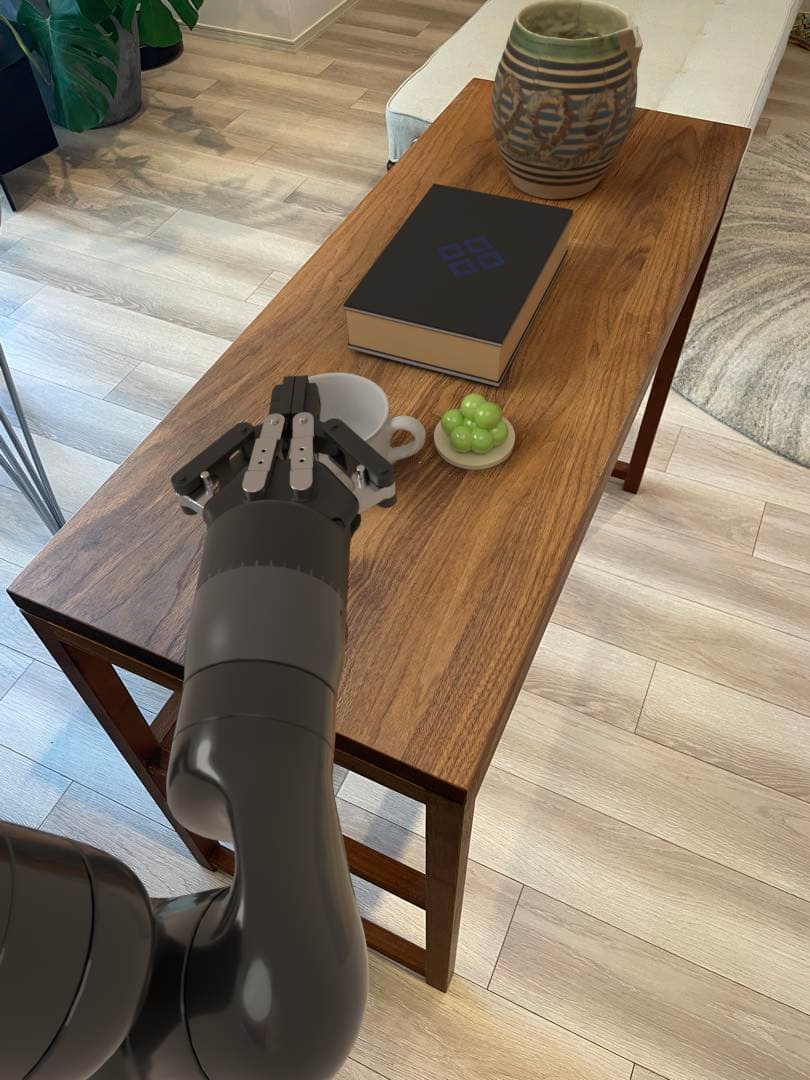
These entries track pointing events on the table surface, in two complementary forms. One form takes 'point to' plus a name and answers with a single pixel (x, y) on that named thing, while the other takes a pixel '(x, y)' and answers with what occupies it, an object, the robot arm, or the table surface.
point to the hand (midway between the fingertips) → (297, 386)
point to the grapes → (474, 434)
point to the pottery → (565, 95)
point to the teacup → (364, 417)
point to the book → (460, 283)
